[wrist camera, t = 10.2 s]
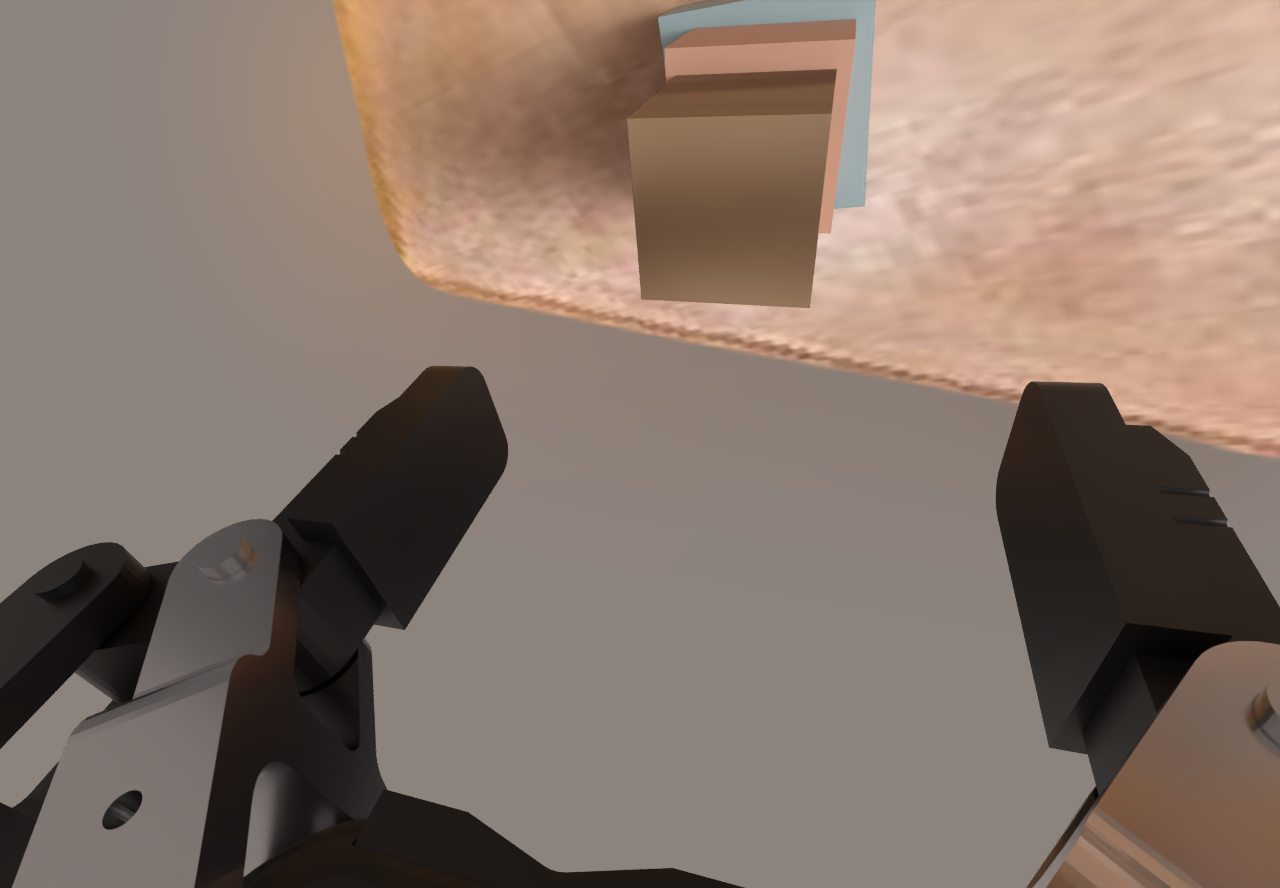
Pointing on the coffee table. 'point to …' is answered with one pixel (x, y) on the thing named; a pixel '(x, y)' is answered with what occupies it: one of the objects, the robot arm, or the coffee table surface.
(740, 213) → the walnut block
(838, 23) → the tower top
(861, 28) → the tower base
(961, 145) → the coffee table surface
